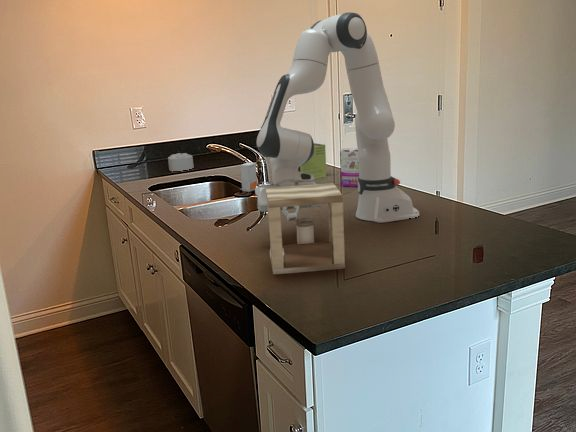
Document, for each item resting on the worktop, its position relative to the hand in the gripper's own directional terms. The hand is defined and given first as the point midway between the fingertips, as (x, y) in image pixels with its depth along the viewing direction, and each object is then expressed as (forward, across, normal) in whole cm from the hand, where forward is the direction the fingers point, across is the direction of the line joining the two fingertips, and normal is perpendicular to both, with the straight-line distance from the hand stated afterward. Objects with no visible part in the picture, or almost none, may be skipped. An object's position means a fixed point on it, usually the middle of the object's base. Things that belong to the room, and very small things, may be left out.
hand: (292, 219), depth 180 cm
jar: (+16, +2, -5) cm, 17 cm away
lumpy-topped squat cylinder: (-102, -40, +108) cm, 154 cm away
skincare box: (-56, -8, +64) cm, 85 cm away
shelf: (+15, +2, -2) cm, 15 cm away
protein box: (-67, +21, +75) cm, 103 cm away
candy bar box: (-49, +38, +58) cm, 85 cm away
